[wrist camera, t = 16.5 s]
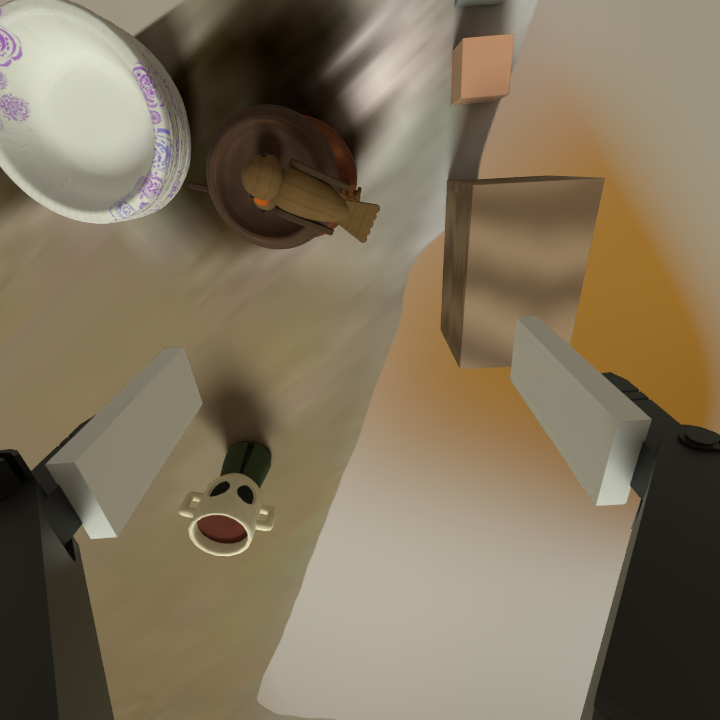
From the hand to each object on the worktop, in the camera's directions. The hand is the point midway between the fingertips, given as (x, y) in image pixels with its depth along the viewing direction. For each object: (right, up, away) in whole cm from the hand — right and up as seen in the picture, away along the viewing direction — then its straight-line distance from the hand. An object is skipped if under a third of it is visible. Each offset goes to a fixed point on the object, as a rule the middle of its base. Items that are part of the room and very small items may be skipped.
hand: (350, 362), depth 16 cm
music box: (-6, +18, +23) cm, 30 cm away
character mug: (-15, -13, +39) cm, 44 cm away
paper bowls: (-22, +22, +22) cm, 38 cm away
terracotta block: (+11, +26, +20) cm, 34 cm away
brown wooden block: (+14, +11, +27) cm, 32 cm away
